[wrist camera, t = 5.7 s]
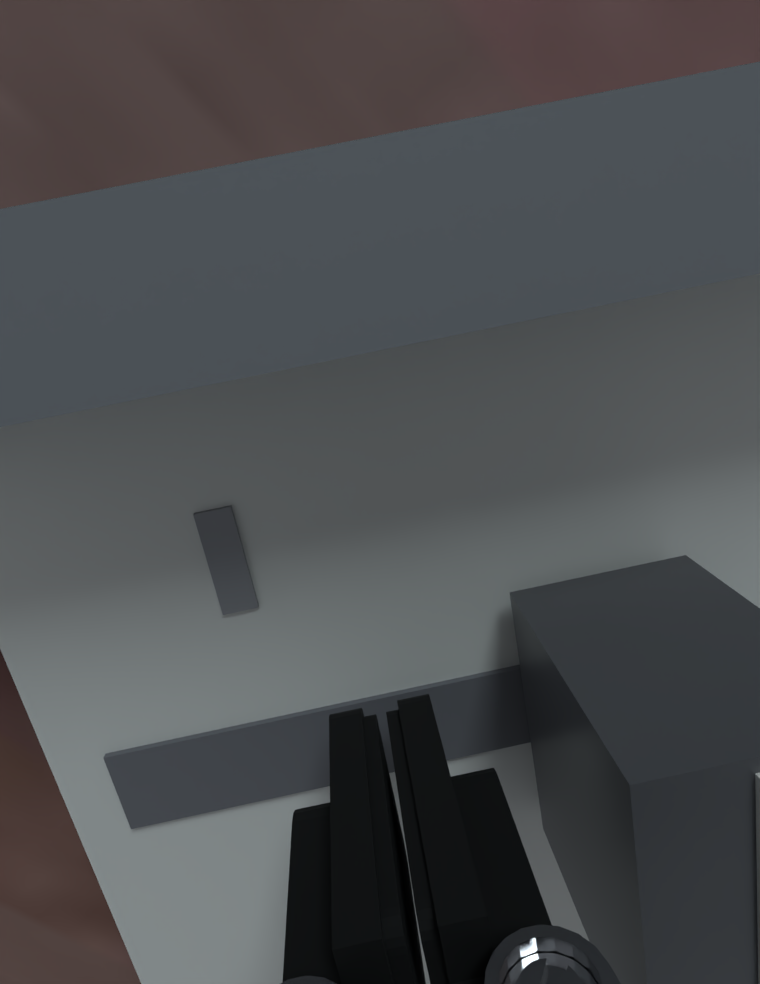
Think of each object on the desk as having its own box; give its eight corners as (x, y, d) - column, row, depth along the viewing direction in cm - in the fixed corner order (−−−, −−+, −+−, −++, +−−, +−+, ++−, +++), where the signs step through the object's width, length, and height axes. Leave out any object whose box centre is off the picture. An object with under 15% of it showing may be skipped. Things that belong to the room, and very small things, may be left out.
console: (1070, 63, 11) (1612, -105, 7) (976, 853, 17) (1235, 1074, 12) (-70, 287, 11) (-376, 282, 6) (214, 1025, 16) (169, 1327, 12)
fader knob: (685, 555, 11) (925, 728, 6) (697, 794, 12) (898, 1063, 8) (509, 592, 11) (634, 791, 6) (542, 828, 12) (662, 1118, 8)
